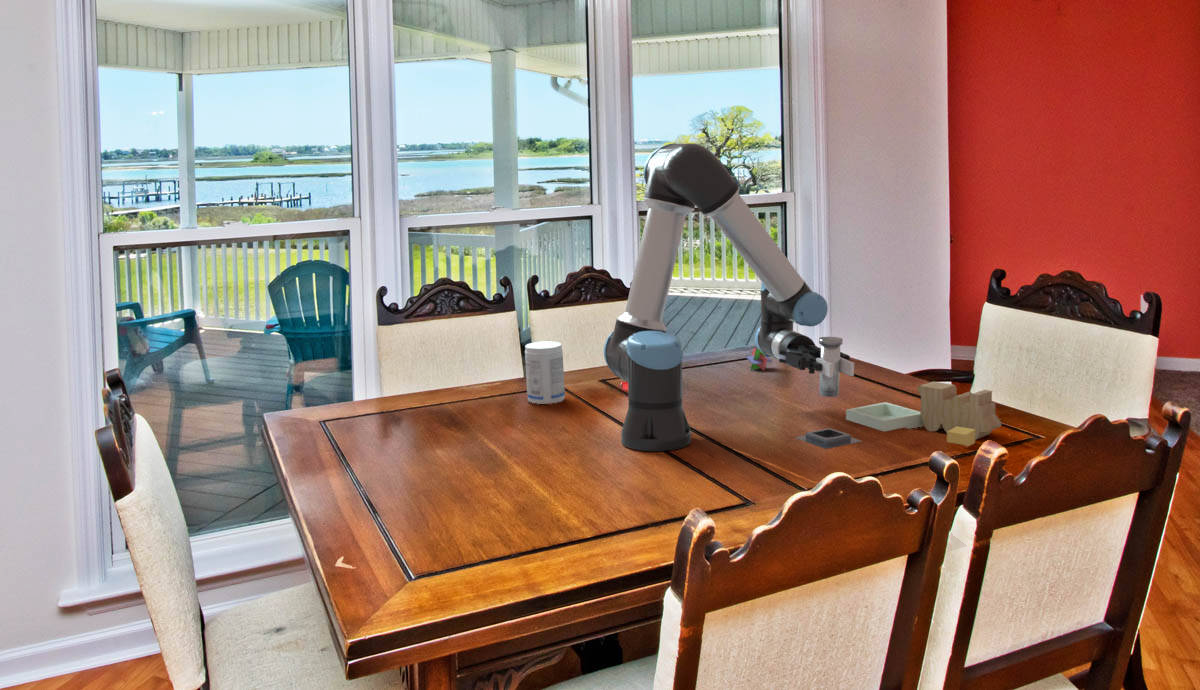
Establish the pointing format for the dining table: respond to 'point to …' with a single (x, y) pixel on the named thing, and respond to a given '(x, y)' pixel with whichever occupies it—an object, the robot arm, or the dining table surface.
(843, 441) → the collar plate
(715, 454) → the dining table surface
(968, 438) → the tan rectangular block
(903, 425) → the tray
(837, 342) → the pin
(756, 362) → the geometric puzzle
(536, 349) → the supplement tub
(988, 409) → the toy train
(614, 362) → the robot arm
